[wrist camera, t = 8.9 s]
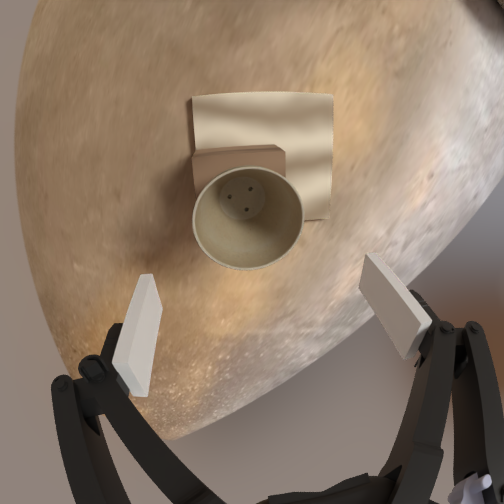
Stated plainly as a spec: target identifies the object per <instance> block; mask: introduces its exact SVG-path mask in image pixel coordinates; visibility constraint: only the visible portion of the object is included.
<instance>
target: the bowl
mask: <svg viewBox="0 0 504 504" xmlns="http://www.w3.org/2000/svg"><path fill="white" fill-rule="evenodd" d="M497 1H498V3H499V4H500V5H501V7H502V8H503V9H504V0H497Z"/></svg>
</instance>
